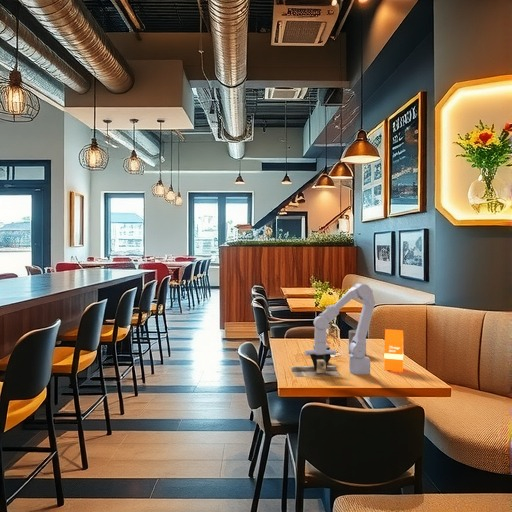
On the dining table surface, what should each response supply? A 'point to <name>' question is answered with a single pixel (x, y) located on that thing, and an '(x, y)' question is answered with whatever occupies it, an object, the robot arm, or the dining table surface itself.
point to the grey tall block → (351, 336)
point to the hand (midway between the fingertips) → (320, 370)
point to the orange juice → (393, 350)
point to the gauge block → (321, 366)
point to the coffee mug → (321, 357)
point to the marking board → (313, 371)
